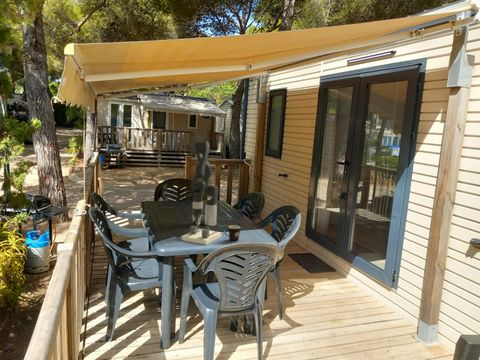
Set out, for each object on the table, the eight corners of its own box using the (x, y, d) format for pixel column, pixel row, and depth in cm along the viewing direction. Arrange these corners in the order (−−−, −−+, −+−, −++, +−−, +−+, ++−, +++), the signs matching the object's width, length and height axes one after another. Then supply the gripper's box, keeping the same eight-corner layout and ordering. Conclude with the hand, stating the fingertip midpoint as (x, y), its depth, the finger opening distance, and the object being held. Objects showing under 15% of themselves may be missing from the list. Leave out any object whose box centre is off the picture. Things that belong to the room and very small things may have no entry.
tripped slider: (192, 231, 281) (192, 225, 280) (197, 232, 280) (197, 226, 279) (190, 233, 278) (190, 226, 277) (194, 233, 276) (195, 227, 276)
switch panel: (198, 232, 293) (198, 228, 293) (221, 236, 286) (221, 232, 285) (181, 240, 271) (181, 235, 271) (206, 244, 264) (206, 240, 263)
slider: (204, 235, 273) (204, 229, 272) (209, 236, 271) (209, 229, 270) (201, 237, 269) (201, 230, 269) (206, 237, 268) (206, 231, 267)
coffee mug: (238, 238, 282) (239, 225, 280) (240, 242, 273) (241, 228, 272) (223, 238, 280) (223, 225, 279) (224, 242, 272) (225, 228, 270)
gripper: (197, 205, 288) (196, 227, 290) (188, 208, 276) (187, 231, 278) (206, 206, 285) (205, 228, 287) (197, 209, 273) (196, 232, 275)
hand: (196, 230), depth 283 cm, fingers closed
